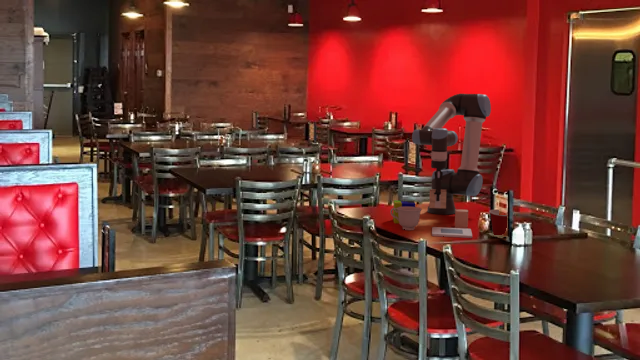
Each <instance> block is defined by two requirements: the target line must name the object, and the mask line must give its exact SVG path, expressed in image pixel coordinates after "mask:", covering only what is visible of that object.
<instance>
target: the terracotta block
mask: <svg viewBox="0 0 640 360" xmlns="http://www.w3.org/2000/svg"><path fill="white" fill-rule="evenodd" d="M454 215H455V216H454V228H464V229H469V228H468V227H469V226H468V225H469V210H468V209H457V208H456V209H455V214H454Z"/></svg>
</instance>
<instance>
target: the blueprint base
mask: <svg viewBox="0 0 640 360" xmlns="http://www.w3.org/2000/svg"><path fill="white" fill-rule="evenodd" d="M431 228H432V229H431V236H432V237H443V236H444V238H445V237H447V238H466V239H467V238H468V239H469V238H470V239H473V233H472V229H471V228H455V227H437V226H432V227H431Z"/></svg>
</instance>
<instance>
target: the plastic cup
mask: <svg viewBox="0 0 640 360" xmlns="http://www.w3.org/2000/svg"><path fill="white" fill-rule="evenodd" d="M499 210H500V209H490V210H489V213H490V219H491V230H492V235H493V234H494V235H502V234H504V233H505V231H506V228H507V215H499ZM513 215H515V214H514V212H513Z"/></svg>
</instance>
